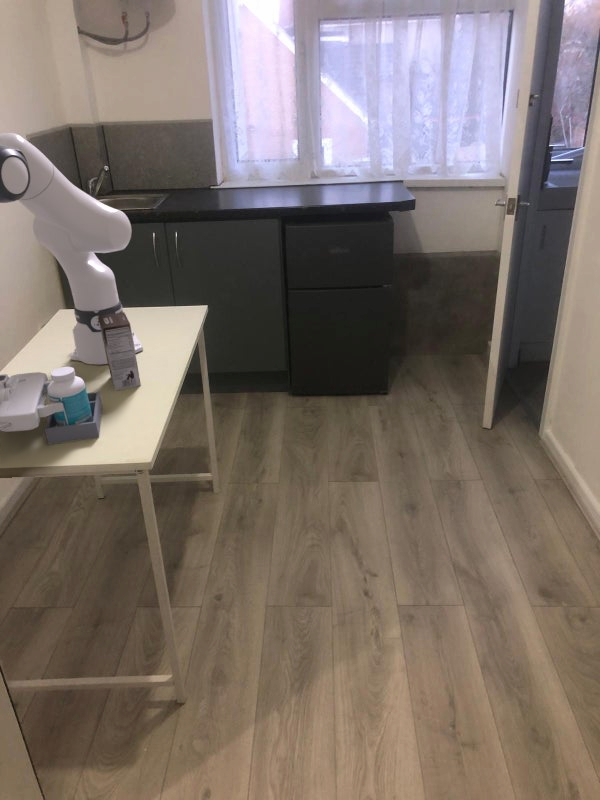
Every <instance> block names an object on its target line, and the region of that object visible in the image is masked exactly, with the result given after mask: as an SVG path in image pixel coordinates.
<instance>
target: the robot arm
mask: <svg viewBox="0 0 600 800" xmlns="http://www.w3.org/2000/svg"><path fill="white" fill-rule="evenodd" d="M16 201H18V202H20V204H21V205H22V206H24V207H25V208H26V209H27V210H28V211H29V212H31V214H32V215H34V219H33V221H32V223H33V224H32V228H33V234H34V236H35V238H36V240H37V242H38V243H39V244H40V245H41V246H43V247H45V249H46V250H48V251H49V252H50V253H51V254H52V255H53V257H54V258H56V260H57V262H58V263H59V265H60V266H61V268H62V269H63V272H64V273H65V275H66V277H67V279H68V280H67V281H68V284H69V287H70V291H71V295H72V298H73V303H74V307H73V311H74V317H75V320H76V324H75V325H74V327H73V328H72V337H73V341H74V347H75V349H74V350H73V351H72V353H71V354H70V359H71V360H72V361H80V362H82V363H84V364H88V365H106V364H107V365H108V362H107V357H106V353H105V348H104V343H103V338H102V333H101V328H100V323H99V319H98V316H102V315H108V314H117V313H123V312H124V310H123V309H124V308H123V305H122V302H121V300H120V299H119V294H118V289H117V284H116V277H115V274H114V272H113V270H112V269H111V268H110V267H109V266H107V265H106V264H104V263H103V262H102V261H101V260H100V259H99V258H98V257H97V255H96V254H95V253H98V254H99V253H100V254H101V253H102V254H106V253H108V254H109V253H113V252H119V251H123V250H125V249H126V247H127V246H128V245H129V243H130V241H131V239H132V231H133V230H132V225H131V221H130V220H129V217H128V215H126V213H125V212H123V211H122V210H119V209H116V208H114V207H111V206H109V205H107V204H105V203H103V202H101V201H99V200H98V199H97V198H95V197H93V196H91V194H88V193H87V192H85V191H83V190H82V189H81V188H79V187H77V186H76V185H75V184H73V182H71V181H69V179H68V178H67V177H66V176H65V175H64V174H63V173H62V172H61V171H60V170H59V169H58V168H57V166H55V165H54V163H52V161H51V160H50V159H49V158H48V157H47V156H46V155H45V154H44V153H43V152H42V151H41V150H40V149H38V148H37V147H36V146H35V145H34V144H32V143H31V142H30V141H28V140H27V139H25V138H24V137H22V136H21V135H20V134H17V133H15V132H2V133H0V204H7V203H13V202H16ZM130 326H131V327H132V325H131V324H130ZM131 331H132V337H133V343H134V348H135V354H137V353H139V352H142V351H143V350H144V348H143V344H142V343H141V341H140V340H139V338H138V337H137V335H136V334H135V332H134V331H133V330H132V329H131ZM52 381H53V380H52V379H51V380H49V379H48V376H47V374H46V373H44V372H39V371H38V372H26V373H17V374H13V375H11V376H9V374H7V373H4V374H0V430H1V432H22V431H32V430H35V429H36V428H38V427H40V426H39V425H40V422H41V418H48V417H49V415H51V414H53V413H55V412H62V411H64V407H65V406H64V402H63V401H54V403H52V404H51V403H49V404H46V405H45V403H46V400H47V396H48V390H47V389H48V385H49V384H50V383H51V382H52Z"/></svg>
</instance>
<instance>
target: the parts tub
mask: <svg viewBox="0 0 600 800" xmlns="http://www.w3.org/2000/svg"><path fill="white" fill-rule="evenodd" d="M87 395H88V400H89V404H90V408H91V412H92V416H93V422H87V423H80V424H73V425H66V426H59V427H57V424H56V421H55V417H54V413H53V414H51V415H49V416H47V421H46V425H45V429H44V430H45V435H46V439H47V442H48V445H55V444H61V443H67V442H75V441H76V442H77V441H81V440H90V439H97V438H100V431H101V425H102V424H101V423H102V422H101V420H102V415H103V414H102V411H103V401H102V396H101V393H100V391H93V392H91V391H90V392H87Z"/></svg>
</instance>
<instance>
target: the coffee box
mask: <svg viewBox="0 0 600 800" xmlns="http://www.w3.org/2000/svg"><path fill="white" fill-rule="evenodd" d="M98 319H99V323H100V328H101V333H102V338H103V343H104V348H105V353H106V357H107V362H108V364H107V365H108V371H109V374H110V375H109V376H110V378H111V379H110V380H111V382H112V384H113V387H114V391H120V390H126V389H131V388H135V387H136V388H137V387H141V385H142V384H141V379H140V373H139V372H140V371H139V367H138V361H137V355H136V354H137V353H135V348H134V343H133V337H132V331H133V330H132V325H131V322H130V321H129V318H128V317H127V315H126V313H125V312H124V311H123V313H117V314H108V315H102V316H98ZM130 325H131V326H130ZM131 330H132V331H131Z"/></svg>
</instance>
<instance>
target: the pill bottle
mask: <svg viewBox="0 0 600 800" xmlns="http://www.w3.org/2000/svg"><path fill="white" fill-rule="evenodd" d="M50 378H51V380H52V382H51V383H50V384H49V385H48V389H47V390H48V393H47V395H48V397H49V401H50V404H52V403H54V401H63V402H64V406H65V407H64V411H62V412H55V413H54V417H55V421H56V424H57V425H56V427H59V426H66V425H73V424H80V423H87V422H93V418H94V417H93V416H92V412H91V408H90V404H89V400H88V395H87V393H88V392H87V387H86V384H85V381H84V379H83V378H82V377H79V376H77V375H76V371H75V368H74V367H72V366H61V367H57V368H55V369H53V370H51V372H50Z"/></svg>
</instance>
